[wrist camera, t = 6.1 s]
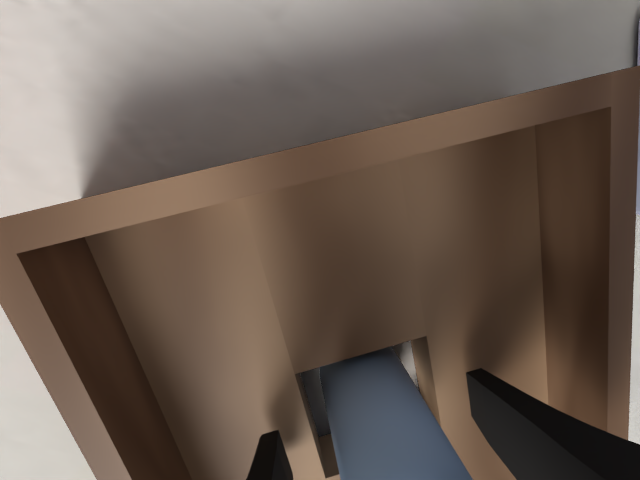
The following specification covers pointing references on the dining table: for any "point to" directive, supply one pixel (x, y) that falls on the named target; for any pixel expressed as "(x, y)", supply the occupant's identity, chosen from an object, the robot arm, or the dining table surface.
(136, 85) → the dining table surface
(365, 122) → the dining table surface
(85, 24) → the dining table surface
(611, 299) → the walnut box
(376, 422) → the peg
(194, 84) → the dining table surface
